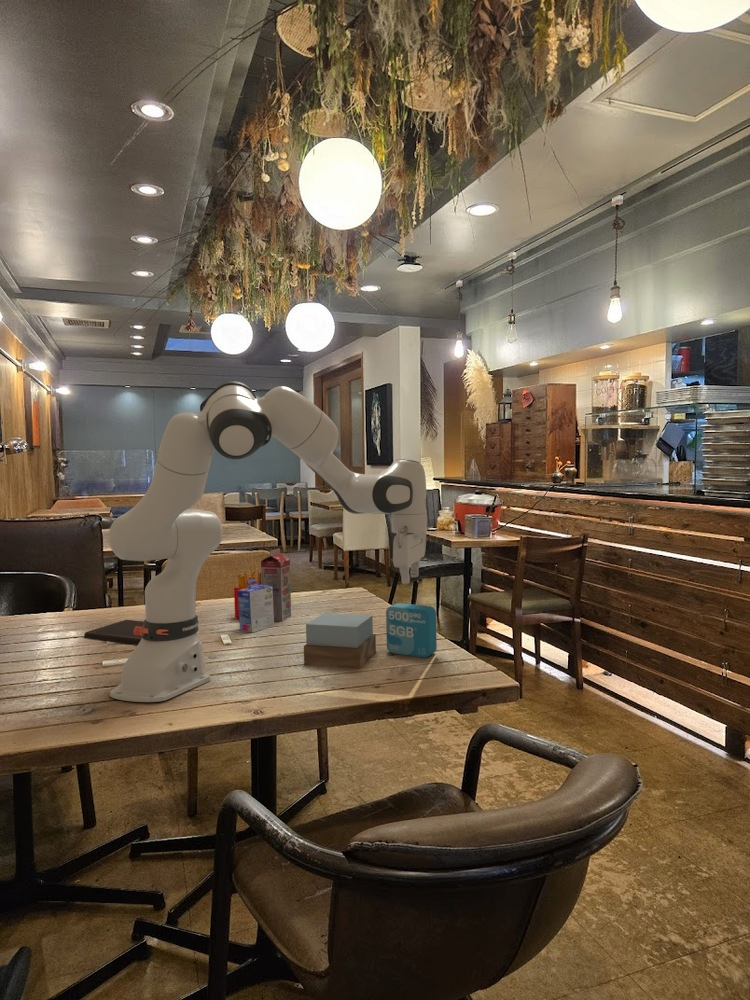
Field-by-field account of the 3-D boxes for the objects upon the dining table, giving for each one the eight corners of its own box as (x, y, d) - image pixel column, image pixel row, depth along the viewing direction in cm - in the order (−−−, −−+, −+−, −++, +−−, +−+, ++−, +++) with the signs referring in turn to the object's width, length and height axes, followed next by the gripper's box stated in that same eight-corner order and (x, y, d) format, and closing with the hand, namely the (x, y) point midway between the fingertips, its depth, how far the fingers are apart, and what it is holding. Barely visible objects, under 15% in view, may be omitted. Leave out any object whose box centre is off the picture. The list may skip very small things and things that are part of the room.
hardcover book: (126, 627, 199) (126, 619, 198) (186, 633, 189) (186, 625, 189) (84, 640, 184) (83, 632, 184) (147, 648, 175) (146, 640, 175)
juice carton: (262, 621, 200) (260, 550, 199) (272, 616, 207) (270, 547, 205) (282, 622, 198) (280, 551, 197) (291, 617, 205) (289, 548, 203)
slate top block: (357, 648, 153) (356, 627, 153) (306, 644, 157) (305, 624, 157) (372, 635, 164) (372, 615, 164) (325, 632, 168) (324, 613, 168)
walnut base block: (359, 670, 152) (359, 649, 152) (304, 666, 156) (303, 645, 156) (375, 653, 166) (375, 634, 165) (324, 650, 170) (323, 631, 169)
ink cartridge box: (261, 623, 197) (260, 576, 196) (275, 626, 194) (273, 578, 193) (237, 631, 189) (236, 581, 188) (251, 633, 186) (250, 583, 185)
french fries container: (233, 619, 203) (232, 575, 202) (254, 613, 211) (253, 571, 210) (249, 622, 199) (248, 577, 198) (270, 616, 207) (269, 572, 206)
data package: (386, 652, 165) (385, 605, 164) (394, 648, 169) (393, 602, 168) (429, 658, 159) (428, 610, 158) (437, 653, 163) (436, 606, 162)
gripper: (412, 529, 150) (413, 588, 151) (429, 521, 170) (430, 573, 171) (385, 528, 152) (387, 587, 153) (406, 521, 172) (407, 573, 173)
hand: (410, 580), depth 162 cm, fingers open, 8 cm apart
